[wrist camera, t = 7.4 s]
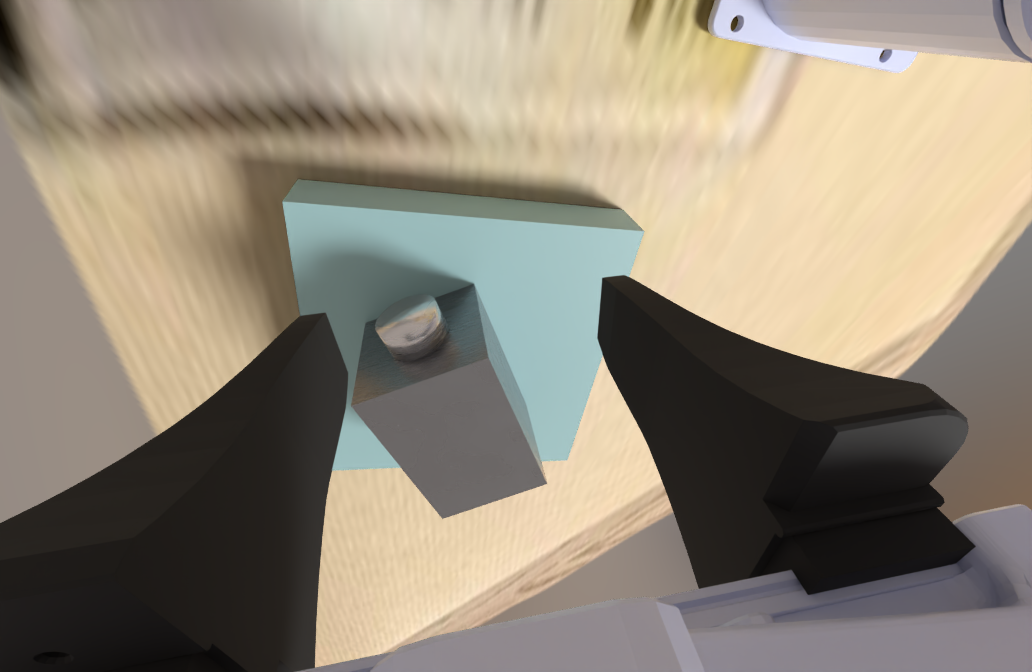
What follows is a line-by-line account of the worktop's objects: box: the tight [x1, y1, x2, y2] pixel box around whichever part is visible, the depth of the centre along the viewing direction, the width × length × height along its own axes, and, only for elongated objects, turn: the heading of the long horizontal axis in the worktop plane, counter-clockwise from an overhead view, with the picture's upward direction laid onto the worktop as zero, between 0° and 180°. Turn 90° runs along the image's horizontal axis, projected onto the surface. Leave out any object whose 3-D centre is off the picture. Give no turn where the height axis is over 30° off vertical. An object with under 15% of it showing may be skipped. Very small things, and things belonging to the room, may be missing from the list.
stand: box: [282, 179, 644, 471], centre depth 22 cm, size 14×15×2 cm
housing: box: [351, 284, 547, 519], centre depth 19 cm, size 9×5×5 cm, turn 17°
